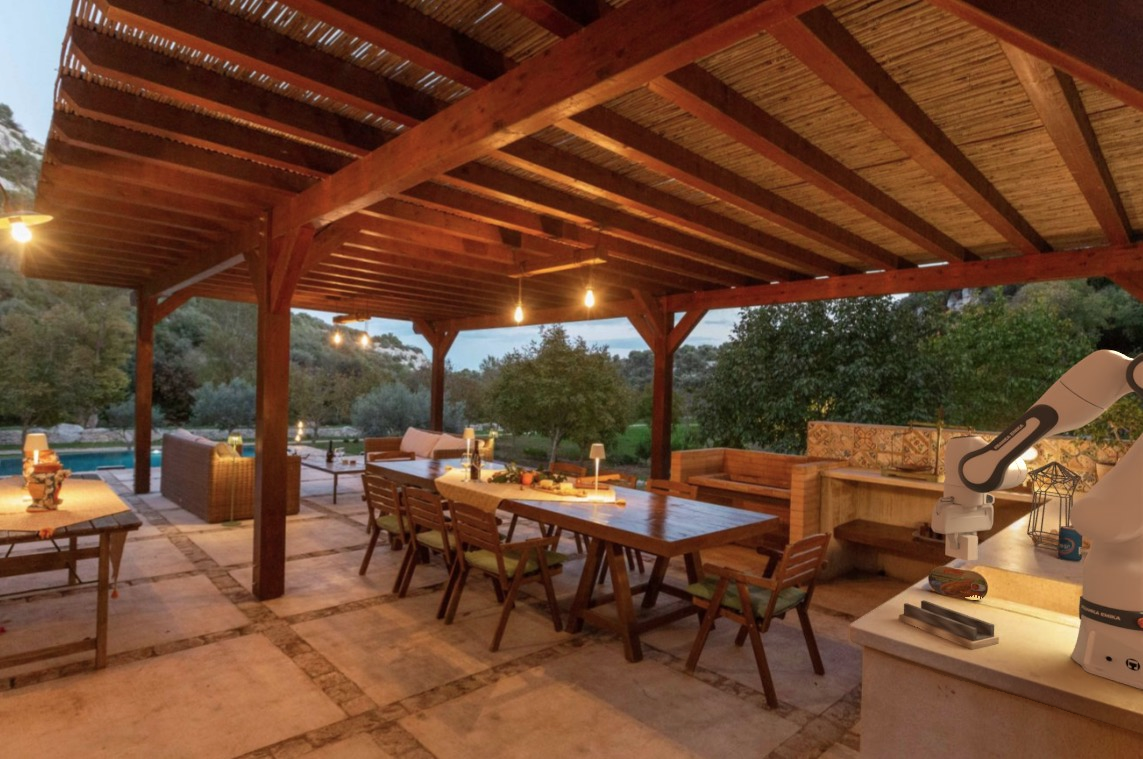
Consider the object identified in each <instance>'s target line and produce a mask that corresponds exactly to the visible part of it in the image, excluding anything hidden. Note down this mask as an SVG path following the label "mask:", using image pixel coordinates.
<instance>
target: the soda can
mask: <svg viewBox="0 0 1143 759" xmlns="http://www.w3.org/2000/svg"><path fill="white" fill-rule="evenodd" d="M1058 534H1059V536H1058V540H1059V541H1058V542H1057V545H1058V551H1057V555H1058V557H1059V559H1060V560H1063V561H1066V562H1072V563H1079V562H1080V561H1081V560H1082V558H1083V536H1081V535H1080V534H1079V533H1078V532H1077V531H1076V530H1075V529H1074V528H1073V527H1072V526H1069V527H1068V526H1066V525H1065V526H1062V525H1061V529H1060V530H1059V529H1058Z"/></svg>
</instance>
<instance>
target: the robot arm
mask: <svg viewBox="0 0 1143 759" xmlns="http://www.w3.org/2000/svg"><path fill="white" fill-rule="evenodd" d="M1129 393H1136V395H1137V396H1139V397H1141V398H1142V399H1143V352H1142V353H1139V354H1138V355H1137V356H1135V357H1134V358H1130V357H1129V356H1126V355H1125V354H1122V353H1120V352H1118V351H1115V350H1110V349H1100V350H1096V351H1093V352H1092V353H1090V354H1089V355H1087V356H1085V357H1084V358H1083V359H1082V360H1080V361H1078V362H1077V363H1076V364H1075V365H1073V366H1072V367H1071V368H1069V370H1067V371H1066V372H1065V373H1064V374H1062V376H1060V377H1059V378H1058V379H1057V380H1056V381H1055V382H1054V383H1053V384H1052V385H1051V386H1050V387H1049V388H1048V389H1047V391H1045V392H1044V393H1043V394H1042V395H1041V397H1040V398H1039V399H1037V401H1036V402H1034V403H1033V405H1031V406H1030V408H1028V410H1026V412H1024V413H1023V414H1022V415H1020V416H1019V417H1018V418H1017V419H1016V420H1014V422H1012V423H1011V424H1010V425H1009V426H1008V427H1007V428H1005V430H1003V431H1002V432H1001V433H999V434H998V436H996V437H995V438H994V439H993V440H991V441H990V442H987V441H986V440H985V439H983V437H981V436H979V435H976V434H975V435H971V434H970V435H961V436H960V435H958V436H953V437H951V438H950V439H948V441H947V443H946V445H945V446H946V447H945V452H944V461H943V462H944V464H943V465H944V466H943V468H944V471H945V477H944V480H943V496H942V497H939V498H938V500H937V501H936V502H935V505H933V509H932V516H931V524H930V525H931V526H930V527H931V530H932V531H933V532H934V533H938V534H941V535H946V534H947V537H948V539H949V541H950V548H951V549H954V550H958V549H960V543H958V541H957V537H958V533H965V534H969V535H973V536H977V535H978V532H981V531H990V530H991V529H992V527H993V524H994V513H995V512H994V505H993V504H994V503H995V500H996V499H995V498H996V497H995V496H994V495H993V494H991V493H990V492H994V491H1000V490H1007V489H1013V488H1015V487H1018V486H1020V485H1022V484H1024V482H1025V481H1026V479H1027V477H1028V465H1027V464H1026V461H1025V460H1024V459H1023V458H1022V456H1023V455H1024V454H1025V453H1026V452H1028V450H1030V449H1032V447H1033V446H1035V445H1036V444H1038V443H1039V442H1041V441H1043V440H1044V439H1047V438H1048V437H1051V436H1055V435H1059V434H1061V433H1065V432H1070V431H1074V430H1078V429H1081V428H1083V427H1084V426H1086V425H1088V424H1090V423H1091V422H1093V421H1095V420H1096V419H1097V418H1099V417H1100V416H1102V414H1104V413H1105V412H1106V410H1108V409H1109V408H1110V407H1111V406H1113V405H1114V404H1116V403H1115V402H1117V401H1118V400H1119V399H1121V398H1122V397H1124V396H1125V395H1128V394H1129ZM1069 523H1070V524H1071V527H1072V526H1073V528H1074V529H1075V530H1076V531H1077V532H1078V533H1079V534H1080V535H1081V536H1082V538H1085V539H1087V540H1089V541H1091V543H1090V546H1089V550H1088V552H1087V555H1086V557H1085V558H1084V560H1083V564H1082V565H1083V566H1082V595H1081V596H1079V602H1078V603H1079V604H1078V617H1079V620H1080V624H1079V630H1078V634H1077V638H1076V642H1075V645H1074V648H1073V650H1072V653H1071V655H1070V656H1071V658H1072V660H1073V661H1074V662H1076V663H1077V664H1078V665H1080V666H1081V667H1082V669H1083V671H1085V672H1087V673H1088V674H1092V675H1095V676H1098V677H1101V678H1105V679H1108V680H1111V681H1114V682H1116V683H1117V682H1118V683H1121V684H1124V685H1127V686H1129V687H1133V688H1137V689H1140V690H1143V432H1142V433H1141V434H1140V436H1138V438H1137V439H1136V440H1135V442H1134V443H1133V445H1131V447H1130V448H1129V449H1128V451H1127V452H1126V453H1125V454H1124V456H1123V457H1122V458H1121V459H1120V461H1118V462H1117V464H1115V465H1114V466H1113V467H1112V468H1110V470H1109V471H1108V472H1106V473H1105V474H1104V475H1103V476H1102V477H1101V478H1100V479H1099V480H1098V481H1097V482H1096V483H1095V484H1094V485H1093V486H1092V487H1091V488H1089V490H1088V491H1087V492H1086V493H1085V494H1084V495H1083V496H1081V497H1080V498H1079V499H1078V500H1077V501H1076V502H1074V503H1073V506H1072V508H1071V507H1070V520H1069ZM977 537H978V536H977Z"/></svg>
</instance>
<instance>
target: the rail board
mask: <svg viewBox="0 0 1143 759" xmlns="http://www.w3.org/2000/svg"><path fill="white" fill-rule="evenodd" d="M898 620H900V622H902V623H904V622H905V623H904V624H907V625H909V624H910V626H912V625H913V626H912V627H914V626H915V628H917V627H918V628H917V629H919V628H920V629H919V630H921V631H925V632H928V633H930V634H933V635H935V636H937V635H938V637H940V636H941V637H940V638H942V637H943V639H945V638H946V639H945V640H947V639H948V641H950V642H952V643H956V644H958V645H961V646H962V647H965V648H967V649H970V650H976V649H979V648H985V647H989V646H993V645H997V644H999V641H1000V637H999V636H996V635H995V624H994V623H990V622H987V621H984V620H981V619H979V618H976V617H972V616H970V615H968V614H965V613H961V612H959V611H956V610H953V609H951V608H947V607H944V606H942V605H938V604H935V603H933V602H931V601H927V600H921V601H920V607H919V606H916V605H913V604H911V603H908V602H907V603H903V613H902V614H901V613H900V614H899V615H898Z"/></svg>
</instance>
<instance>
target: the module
mask: <svg viewBox="0 0 1143 759" xmlns="http://www.w3.org/2000/svg"><path fill="white" fill-rule="evenodd" d="M957 541H958V543H960V549H958V550H954V549H951V548H950V541H949V539H948V537H947V534H945V552H944V553H945V556H948V557H951V558H955V559H958V560H959V559H960V560H963V561H967V562H968V561H977V560H978V552H979V550H978V549H979V548H978V547H979V536H973V535H969V534H966V533H965V532H963V533H958V537H957Z"/></svg>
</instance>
